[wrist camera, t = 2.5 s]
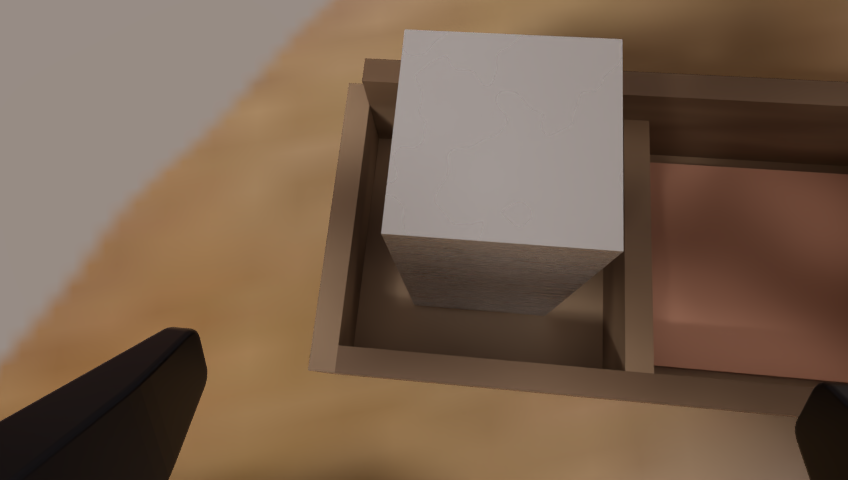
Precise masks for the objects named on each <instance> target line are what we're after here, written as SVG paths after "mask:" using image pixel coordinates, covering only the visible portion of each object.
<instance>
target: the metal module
mask: <svg viewBox="0 0 848 480" xmlns="http://www.w3.org/2000/svg"><path fill="white" fill-rule="evenodd" d="M381 235H382V237H383V239H384V241H385V243H386V245H387V247H388V250H389V252H390V254H391V256H392V258H393V260H394V263H395V265H396V267H397V269H398V271H399V273H400V275H401V278H402V280H403V282H404V284H405V286H406V288H407V290H408V293H409V295H410V297H411V299H412V301H413V303H414V305H418V306H430V307H442V308H454V309H466V310H478V311H490V312H502V313H515V314H527V315H539V316H545V315H547V314H548V313H549V312H550V311H552V310H553V309H554V308H555V307H556V306H558V305H559V304H560V303H561V302H563V301H564V300H565V299H566V298H567V297H569V296H570V295H571V294H572V293H573V292H575V291H576V290H577V289H578V288H580V287H581V286H582V285H583V284H584V283H586V282H587V281H588V280H589V279H591V278H592V277H593V276H594V275H595V274H597V273H598V272H599V271H600V270H601V269H603V268H604V267H605V266H606V265H608V264H609V263H610V262H611V261H612V260H614V259H615V258H616V257H617V256H619V255H620V254H621V253H622V252H623V251H624V246H623V52H622V39H606V38H583V37H561V36H538V35H516V34H494V33H471V32H449V31H426V30H405V32H404V40H403V49H402V57H401V66H400V75H399V83H398V92H397V101H396V109H395V118H394V126H393V135H392V144H391V152H390V161H389V170H388V178H387V187H386V195H385V204H384V213H383V221H382V230H381Z"/></svg>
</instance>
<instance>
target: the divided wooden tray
mask: <svg viewBox="0 0 848 480" xmlns="http://www.w3.org/2000/svg"><path fill="white" fill-rule="evenodd" d="M400 66H401V60H386V59H365V64H364V71H363V78H362V82H363V84H357V83H349V87H348V94H347V101H346V108H345V115H344V122H343V129H342V136H341V143H340V150H339V157H338V164H337V171H336V178H335V185H334V192H333V199H332V206H331V213H330V220H329V227H328V234H327V241H326V248H325V255H324V262H323V269H322V276H321V283H320V290H319V297H318V304H317V311H316V318H315V325H314V332H313V339H312V346H311V353H310V360H309V367H308V370H310V371H317V372H324V373H331V374H342V375H352V376H363V377H374V378H385V379H395V380H406V381H417V382H427V383H438V384H449V385H459V386H470V387H481V388H492V389H502V390H513V391H524V392H534V393H545V394H556V395H566V396H577V397H588V398H599V399H609V400H620V401H631V402H641V403H652V404H663V405H673V406H684V407H695V408H706V409H716V410H727V411H738V412H748V413H759V414H770V415H780V416H791V417H799V415H800V413H801V411H802V409H803V408H804V406H805V404H806V402H807V400H808V398H809V396H810V394H811V392H812V390H813V389H814V387H815V386H816V385H817V384H819V383H821V382H836V383H848V82H836V81H815V80H795V79H775V78H754V77H734V76H713V75H693V74H672V73H652V72H631V71H623V246H624V251H623V252H622V253H621V254H620V255H619V256H617V257H616V258H615V259H614V260H612V261H611V262H610V263H609V264H608V265H606V266H605V267H604V268H603V269H601V270H600V271H599V272H598V273H597V274H595V275H594V276H593V277H592V278H591V279H589V280H588V281H587V282H586V283H584V284H583V285H582V286H581V287H580V288H578V289H577V290H576V291H575V292H573V293H572V294H571V295H570V296H569V297H567V298H566V299H565V300H564V301H563V302H561V303H560V304H559V305H558V306H556V307H555V308H554V309H553V310H552V311H550V312H549V313H548V314H547V315H545V316H539V315H527V314H515V313H502V312H490V311H478V310H466V309H454V308H442V307H430V306H418V305H414V303H413V301H412V299H411V297H410V295H409V293H408V290H407V288H406V286H405V284H404V282H403V280H402V278H401V275H400V273H399V271H398V269H397V267H396V265H395V263H394V260H393V258H392V256H391V254H390V252H389V250H388V247H387V245H386V243H385V241H384V239H383V237H382V235H381V230H382V221H383V213H384V204H385V195H386V187H387V178H388V170H389V161H390V152H391V144H392V135H393V126H394V118H395V109H396V101H397V92H398V83H399V75H400Z"/></svg>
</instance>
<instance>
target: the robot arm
mask: <svg viewBox="0 0 848 480" xmlns="http://www.w3.org/2000/svg"><path fill="white" fill-rule="evenodd" d="M206 380H207V366H206V362H205V358H204V354H203V349H202V345H201V341H200V337H199V334H198V333H197V331H195V330H193V329H190V328H178V327H169V328H166V329H164V330H162V331H160V332H158V333H157V334H155V335H153V336H151V337H149V338H148V339H146V340H144V341H142V342H141V343H139V344H137V345H135V346H133V347H132V348H130V349H128V350H126V351H125V352H123V353H121V354H119V355H117V356H116V357H114V358H112V359H110V360H109V361H107V362H105V363H103V364H101V365H100V366H98V367H96V368H94V369H93V370H91V371H89V372H87V373H85V374H84V375H82V376H80V377H78V378H77V379H75V380H73V381H71V382H69V383H68V384H66V385H64V386H62V387H60V388H59V389H57V390H55V391H53V392H52V393H50V394H48V395H46V396H44V397H43V398H41V399H39V400H37V401H36V402H34V403H32V404H30V405H28V406H27V407H25V408H23V409H21V410H20V411H18V412H16V413H14V414H12V415H11V416H9V417H7V418H5V419H3V420H2V421H0V480H168V479H169V477H170V475H171V472H172V470H173V468H174V465H175V463H176V460H177V458H178V455H179V452H180V450H181V447H182V445H183V442H184V439H185V437H186V434H187V432H188V429H189V426H190V424H191V421H192V419H193V416H194V413H195V411H196V408H197V405H198V403H199V400H200V398H201V395H202V392H203V390H204V387H205V384H206ZM795 434H796V439H797V443H798V446H799V449H800V452H801V454H802V457H803V460H804V463H805V466H806V469H807V472H808V475H809V478H810V480H848V383H836V382H821V383H819V384H817V385H816V386H815V387H814V389H813V390H812V392H811V394H810V396H809V398H808V400H807V402H806V404H805V406H804V408H803V409H802V411H801V413H800V415H799V417H798V419H797V422H796V426H795Z"/></svg>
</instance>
